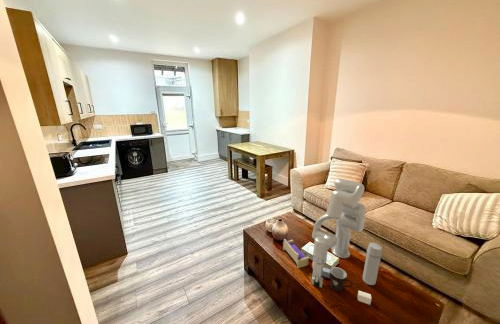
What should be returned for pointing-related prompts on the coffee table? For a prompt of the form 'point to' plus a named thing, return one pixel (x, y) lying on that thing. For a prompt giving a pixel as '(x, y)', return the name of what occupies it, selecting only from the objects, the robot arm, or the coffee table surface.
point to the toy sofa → (295, 253)
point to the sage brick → (320, 281)
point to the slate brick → (326, 272)
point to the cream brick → (364, 297)
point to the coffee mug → (338, 279)
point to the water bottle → (372, 263)
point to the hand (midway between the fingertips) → (316, 283)
